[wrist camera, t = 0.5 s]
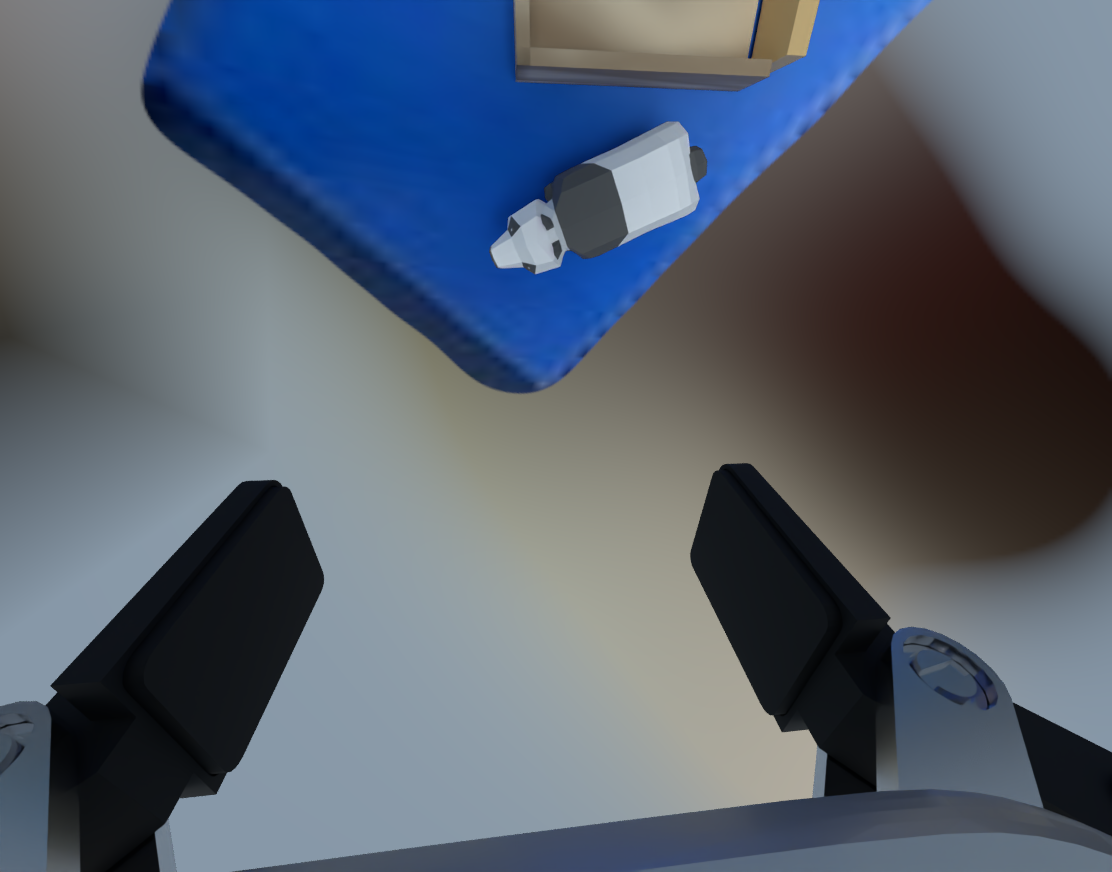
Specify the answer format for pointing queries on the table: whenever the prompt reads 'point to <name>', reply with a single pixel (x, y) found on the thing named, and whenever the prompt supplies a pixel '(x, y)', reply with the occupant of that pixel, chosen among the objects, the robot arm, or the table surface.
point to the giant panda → (606, 201)
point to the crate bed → (638, 43)
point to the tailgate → (784, 31)
